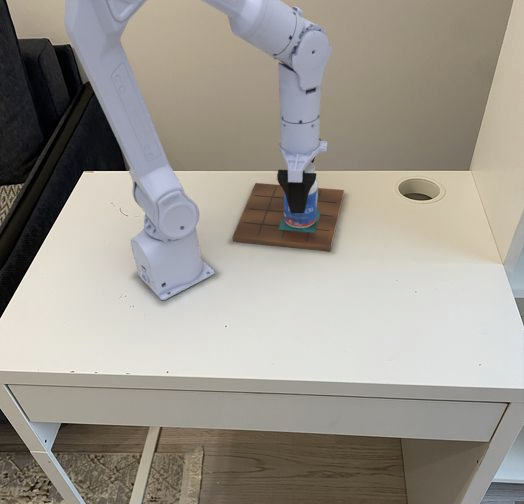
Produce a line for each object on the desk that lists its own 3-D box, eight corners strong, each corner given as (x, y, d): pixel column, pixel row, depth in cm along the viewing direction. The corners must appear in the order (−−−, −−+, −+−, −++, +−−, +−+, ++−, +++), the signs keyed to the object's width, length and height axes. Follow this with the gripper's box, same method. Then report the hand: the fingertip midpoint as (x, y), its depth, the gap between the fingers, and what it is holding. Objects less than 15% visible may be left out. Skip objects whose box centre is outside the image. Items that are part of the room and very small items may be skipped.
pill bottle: (284, 230, 89) (283, 176, 81) (283, 211, 92) (281, 157, 85) (318, 228, 88) (320, 174, 81) (315, 209, 92) (317, 155, 85)
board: (330, 251, 86) (330, 246, 85) (233, 241, 89) (232, 236, 88) (343, 194, 96) (344, 189, 95) (255, 187, 99) (255, 182, 98)
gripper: (325, 140, 72) (321, 226, 82) (331, 92, 81) (327, 174, 91) (271, 139, 73) (275, 224, 83) (284, 91, 82) (285, 173, 92)
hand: (299, 198), depth 87 cm, fingers open, 7 cm apart
